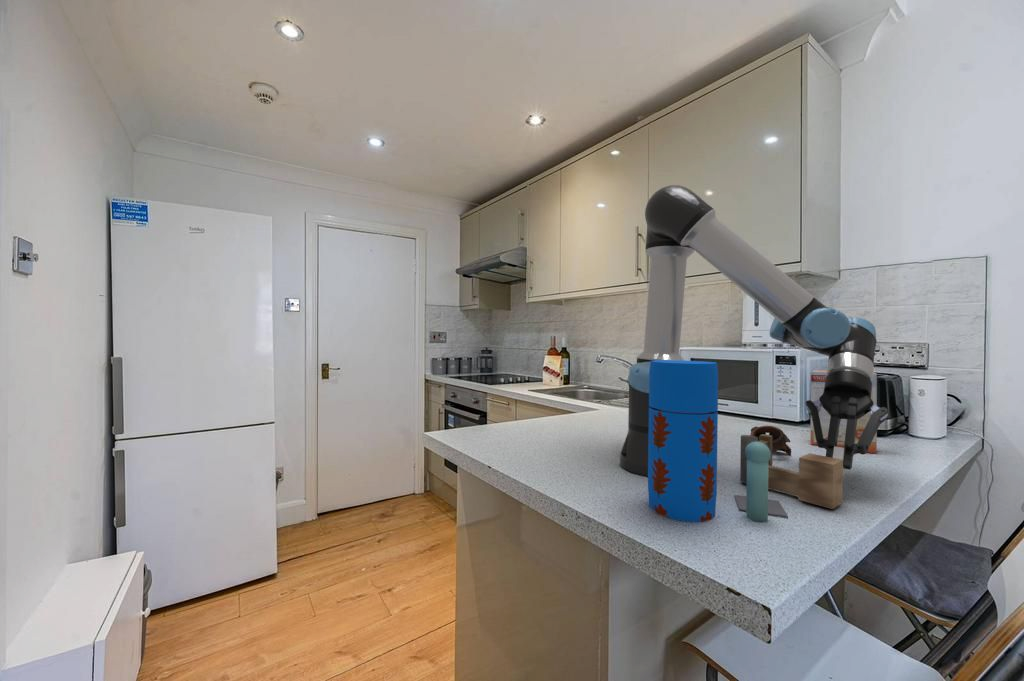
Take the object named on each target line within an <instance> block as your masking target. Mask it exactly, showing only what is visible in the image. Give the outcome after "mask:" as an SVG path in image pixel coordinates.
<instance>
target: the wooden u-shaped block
mask: <svg viewBox="0 0 1024 681" xmlns="http://www.w3.org/2000/svg"><path fill="white" fill-rule="evenodd" d="M751 442H758V437H755V436H750V434H743V435H740V458H739V459H740V463H739V464H740V465H739V468H740V469H739V470H740V471H739V474H740V475H739V477H740V478H739V479H740V480H739V481H740V482H741V483H744V484H747V457H746V455H745V449H746V446H747V445H748V444H749V443H751ZM843 479H844V473H843V460H841V459H836V458H831V457H826V455H821V454H815V453H806V454H804V455H802V456H799V457H798V471H796V470H790V469H786V468H782V467H778V466H773V465H772V466H770V465H768V490H769V489H770V490H774V491H777V492H780V493H784V494H787V495H792V496H796V497H798V501H803V502H805V503H809V504H812V505H817V506H820V507H824V508H828V509H832V510H834V509H835V508H836V507H837V506H840V505H841V504H842V503H843V490H844V489H843V487H844V486H843V485H844V484H843Z"/></svg>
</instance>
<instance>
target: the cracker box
mask: <svg viewBox="0 0 1024 681" xmlns="http://www.w3.org/2000/svg"><path fill="white" fill-rule="evenodd" d="M826 372H827V369H825V370H823V369H818V370H817V369H813V370H812V371H810V401H812V402H814V401H817V400H819V398H820V396H821V395H822V394H823V392H824V386H825V379H826ZM877 381H878V375H877V372H874V371H873V381H872V392H871V399H872V401H873V402H874V404H873V405H875V406H877V407H878V403H877V400H878V398H877V397H878V395H877V394H878V393H877V392H878V391H877V390H878V388H877V387H878V385H877V384H878V382H877ZM820 409H821V410H820V411H819V418H820V423H821V428H822V433H823V438H824V439H826V440H827V439H828V432H829V425H830V418H831V416H830V415H829V414H828V412H827V411H826V410H825V409H824V408H823V407H822V406H821V407H820ZM870 412H871V411H870ZM870 412H868V413H867V414H865V415H864V416H863V417H861V418H860V419H857V426H856V435H855V444H857V443H858V441H859V439H860V437H861V435H862V433H863V431H864V429H865V427H866V425H867V423H868V421H869V419H870V417H871V414H870ZM846 426H847V419H841V421H840V425H839V433H838V441H837V447H842V448H844V447H845V446H844V443H845V435H846ZM877 437H878V431H877V432H876V434H875V436H874V438H873V440H872V442H871V444H870V447H869V449H868V451H867V453H868V452H869V453H870V454H877V449H878V448H877V447H878V446H877V441H878V440H877V439H878V438H877ZM812 444H814V445H813V446H817V442H816V437H815V431H814V426H813V421H812V416H811V415H810V445H812Z"/></svg>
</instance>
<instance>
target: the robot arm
mask: <svg viewBox="0 0 1024 681" xmlns="http://www.w3.org/2000/svg"><path fill="white" fill-rule="evenodd" d="M644 216H645V218H644V219H645V222H646V239H645V253H646V255H648V257H650V263H649V264H650V266H649V280H648V292H647V294H648V295H647V301H646V302H647V306H646V317H645V318H646V319H645V329H644V330H645V331H644V341H643V344H644V345H643V350H642V352H641V353H640V354H638V355H637V357H636V363H633V364H632V365H631V366H630V367H629V372H628V373H629V374H628V377H627V381H628V416H627V418H628V419H627V420H628V422H627V424H628V427H627V434H626V436H625V440H624V442H623V446H622V448H621V451H620V454H619V465H620V466H621V467H622V468H623V469H624V470H626V471H628V472H631V473H634V474H637V475H641V476H645V477H646V476H647V477H648V435H649V370H650V363H651V361H655V360H677V361H686V359H684V358H683V357H682V355H681V354H680V348H681V334H682V325H683V324H682V321H683V310H684V299H685V286H686V275H687V274H686V272H687V260H688V258H689V257H691V256H692V254H694V253H695V252H696V253H697V254H698V255H700V256H701V257H702V258H703V259H705V260H706V261H707V262H708V263H709V264H710V265H712V266H713V267H714V268H715V269H716V270H718V272H720V274H722V275H723V276H725V277H726V278H727V279H728V280H729V281H731V283H732V284H734V285H735V286H737V287H738V288H739V289H740V290H741V291H743V293H744V294H746V295H747V296H748V297H749V298H751V299H752V300H753V301H755V303H757V304H758V305H759V306H760V307H761V308H763V309H764V310H765V311H766V312H768V314H770V315H771V316H772V317H773V320H772V323H771V325H770V328H769V336H770V337H771V338H772V339H773V340H775V341H778V342H781V343H783V344H788V345H792V346H794V347H797V348H801V349H804V350H808V351H811V352H814V353H817V354H821V355H824V356H827V357H828V359H827V367H826V370H827V372H826V379H825V386H824V392H823V394H822V395H821V396H820V398H819V400H817V401H814V402H812V401H811V399H809V400H808V399H807V400H806V401H805V407H806V409H807V412H808V413H809V415H810V417H811V416H812V421H813V426H814V431H815V437H816V442H817V445H816V446H817V447H818V448H820V449H824V450H825V456H826V457H831V458H836V459H841V460H843V474H844V473H845V472H844V471H845V470H849V471H850V470H852V468H853V460H854V458H853V457H854V455H856V454H857V455H858V454H859V455H866V454H867V453H868V452H867V451H868V449H869V447H870V444H871V442H872V440H873V438H874V436H875V434H876V432H877V433H878V431H879V427H880V425H882V423H884V422H885V421H887V420H888V418H889V414H888V412H889V411H888V408H887V407H884V406H882V407H879V406H878V405H877V406H875V405H873V404H874V402H873V401H872V399H871V392H872V381H873V372H874V367H875V366H874V365H875V363H874V362H875V353H876V346H877V333H876V332H877V331H876V330H877V329H876V327H875V325H874V324H873V323H872V322H870V321H869V320H868V319H865V318H862V317H848V316H847V315H846V314H845V313H843V312H841V311H840V310H838V309H835V308H831V307H827V306H826V305H825V304H823V303H822V302H821V301H820V300H819V299H818V298H815V297H814V296H813V294H811V293H810V292H808V290H806V289H804V287H802V286H801V285H800V284H799V283H797V281H795V280H794V279H792V278H791V277H790V276H789V275H788V274H786V273H785V272H783V271H782V270H781V269H780V268H779V267H777V266H776V265H775V264H774V263H773V262H771V261H770V260H769V259H768V258H766V257H765V256H764V255H763V254H761V253H760V252H759V251H758V250H756V249H755V247H753V246H751V244H749V243H748V242H747V241H745V239H743V238H742V237H740V235H739V234H737V233H736V232H735V231H733V230H732V229H730V228H729V227H728V226H727V225H726V224H724V223H723V222H722V221H721V220H719V219H718V217H716V209H714V207H712V206H711V205H709V203H707V202H706V201H705V200H703V199H702V198H701V197H700V196H699V195H698V194H696V193H695V192H694V191H692V190H691V189H689V188H688V187H686V186H683V185H680V184H678V185H676V184H672V185H667V186H663V187H661V188H660V189H658V190H656V191H655V192H654V193H653V194H652V195H651V197H650V198H649V199H648V202H647V203H646V205H645V209H644ZM821 406H822V407H823V408H824V409H825V410H826V411H827V412H828V414H829V415H830V416H831V418H830V425H829V432H828V439H827V440H826V439H824V438H823V433H822V428H821V423H820V418H819V411H820V410H821V409H820V407H821ZM870 411H871V412H870ZM868 412H870V414H871V417H870V419H869V421H868V423H867V425H866V427H865V429H864V431H863V433H862V435H861V437H860V439H859V441H858V443H857V444H855V435H856V426H857V419H860V418H861V417H863V416H864V415H865V414H867V413H868ZM841 419H847V426H846V435H845V443H844V446H845V447H844V448H842V447H837V441H838V433H839V425H840V421H841Z"/></svg>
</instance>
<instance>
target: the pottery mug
mask: <svg viewBox="0 0 1024 681" xmlns="http://www.w3.org/2000/svg"><path fill="white" fill-rule="evenodd" d="M761 434H765V435H767V434H768V435H772V436H773V444H772V452H779V451H780V452H783V453H786V454H787V455H788V456H790V455H791V456H792V449H791V447H790V446H789V445H788V444H787V443H791V440H790V439H789V437H788V436H787V435H786V434H785V432H784V431H783V430H782V429H781V428H779V427H777V426H773V425H761V426H754V427H751V429H750V434H749V435H750V436H755V437H758V441H760V435H761Z"/></svg>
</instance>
